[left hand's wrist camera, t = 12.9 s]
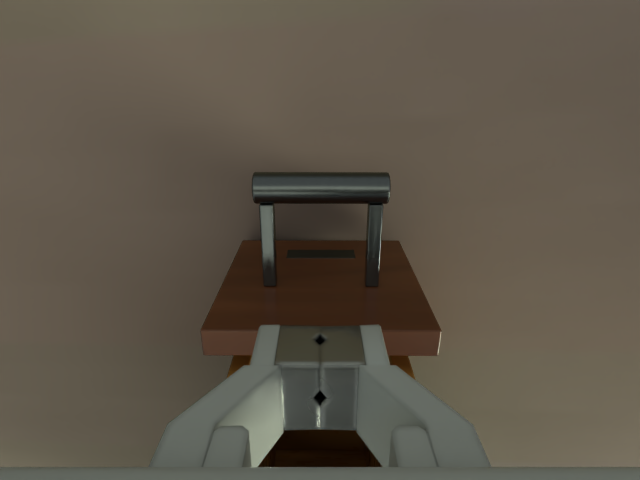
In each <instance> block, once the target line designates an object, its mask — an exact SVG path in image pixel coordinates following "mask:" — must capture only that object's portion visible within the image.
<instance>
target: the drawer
mask: <svg viewBox="0 0 640 480" xmlns="http://www.w3.org/2000/svg"><path fill="white" fill-rule="evenodd" d="M252 196H253V201H254V203H260V205H259V213H260V231H261V240H244V241H242V243H241V245H240V248H239V250H238V252H237V254H236V256H235V258H234V260H233V262H232V265H231V267H230V269H229V271H228V273H227V275H226V277H225V279H224V282H223V284H222V286H221V288H220V290H219V292H218V294H217V296H216V299H215V301H214V303H213V305H212V307H211V309H210V311H209V313H208V315H207V318H206V320H205V322H204V324H203V326H202V328H201V331H200V332H201V340H202V348H203V354H204V355H234V356H233V359H232V362H231V366H230V369H229V372H228V375H227V378H228V377H229V376H231V375H232V374H233V373H235V372H236V371H237V370H238V369H240V368H241V367H242V366H244V365H250V362H251V358H252V354H253V350H254V346H255V342H256V338H257V334H258V329H259V327H260V326H261V325H280V326H281V325H311V326H355V325H378V324H379V325H380V326H381V330H382V334H383V338H384V342H385V346H386V350H387V354H388V358H389V362H390V365H396V366H398V367H399V368H400V369H402V370H403V371H404V372H405V373H407V374H408V375H409V376H411V377H412V378H413V379H415V377H414V374H413V370H412V367H411V364H410V361H409V358H408V356H437V355H438V354H439V348H440V340H441V332H442V331H441V329H440V327H439V324H438V322H437V320H436V318H435V316H434V314H433V312H432V310H431V308H430V305H429V303H428V301H427V299H426V297H425V295H424V293H423V291H422V289H421V286H420V284H419V282H418V280H417V278H416V276H415V274H414V272H413V270H412V267H411V265H410V263H409V261H408V259H407V257H406V255H405V253H404V251H403V249H402V246H401V244H400V242H399V241H381V235H382V218H383V204H387V203H388V202H389V198H390V176H389V173H387V172H255V173H254V174H253V178H252ZM274 203H288V204H368V212H367V234H366V241H276V233H275V209H274ZM283 432H284V433H283V434H282V435H281V437H280V438H279V439H278V441H277V442H276V443H275V444H274V446H273V447H272V448H271V450H270V451H269V452H268V454H267V455H266V456H265V458H264V459H263V460H262V462H261V463H260V464H259V466H258V467H382V465H381V464H380V463H379V461H378V460H377V459H376V457H375V456H374V455H373V453H372V452H371V451H370V449H369V448H368V447H367V445H366V444H365V443H364V441H363V440H362V439H361V437H360V436H359V435H358V433H357V430H322V429H317V430H283Z"/></svg>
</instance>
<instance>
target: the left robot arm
mask: <svg viewBox="0 0 640 480" xmlns="http://www.w3.org/2000/svg"><path fill="white" fill-rule="evenodd" d="M317 429H322V430H357V433H358V435H359V436H360V437H361V439H362V440H363V441H364V443H365V444H366V445H367V447H368V448H369V449H370V451H371V452H372V453H373V455H374V456H375V457H376V459H377V460H378V461H379V463H380V464H381V465H382V467H258V466H259V464H260V463H261V462H262V460H263V459H264V458H265V456H266V455H267V454H268V452H269V451H270V450H271V448H272V447H273V446H274V444H275V443H276V442H277V441H278V439H279V438H280V437H281V435H282V434H283V433H284V432H283V430H317ZM0 480H640V467H491V465H490V463H489V460H488V458H487V456H486V453H485V451H484V449H483V447H482V444H481V442H480V440H479V437H478V435H477V433H476V431H475V428H474V426H473V424H472V423H470V422H469V421H468V420H466V419H465V418H464V417H462V416H461V415H460V414H459V413H457V412H456V411H455V410H453V409H452V408H451V407H450V406H448V405H447V404H446V403H444V402H443V401H442V400H440V399H439V398H438V397H437V396H435V395H434V394H433V393H431V392H430V391H429V390H427V389H426V388H425V387H424V386H422V385H421V384H420V383H418V382H417V381H416V380H415V379H413V378H412V377H411V376H409V375H408V374H407V373H405V372H404V371H403V370H402V369H400V368H399V367H398V366H396V365H390V362H389V358H388V354H387V350H386V346H385V342H384V338H383V334H382V330H381V326H380V325H379V324H378V325H355V326H311V325H281V326H280V325H261V326H260V327H259V329H258V334H257V338H256V342H255V346H254V350H253V354H252V358H251V362H250V365H244V366H242V367H241V368H240V369H238V370H237V371H236V372H235V373H233V374H232V375H231V376H229V377H228V378H227V379H225V380H224V381H223V382H222V383H220V384H219V385H218V386H216V387H215V388H214V389H212V390H211V391H210V392H209V393H207V394H206V395H205V396H203V397H202V398H201V399H199V400H198V401H197V402H195V403H194V404H193V405H192V406H190V407H189V408H188V409H186V410H185V411H184V412H182V413H181V414H180V415H179V416H177V417H176V418H175V419H173V420H172V421H171V422H169V423H168V424H167V426H166V429H165V431H164V433H163V435H162V438H161V440H160V442H159V444H158V447H157V449H156V451H155V454H154V456H153V458H152V460H151V463H150V465H149V467H0Z"/></svg>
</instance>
